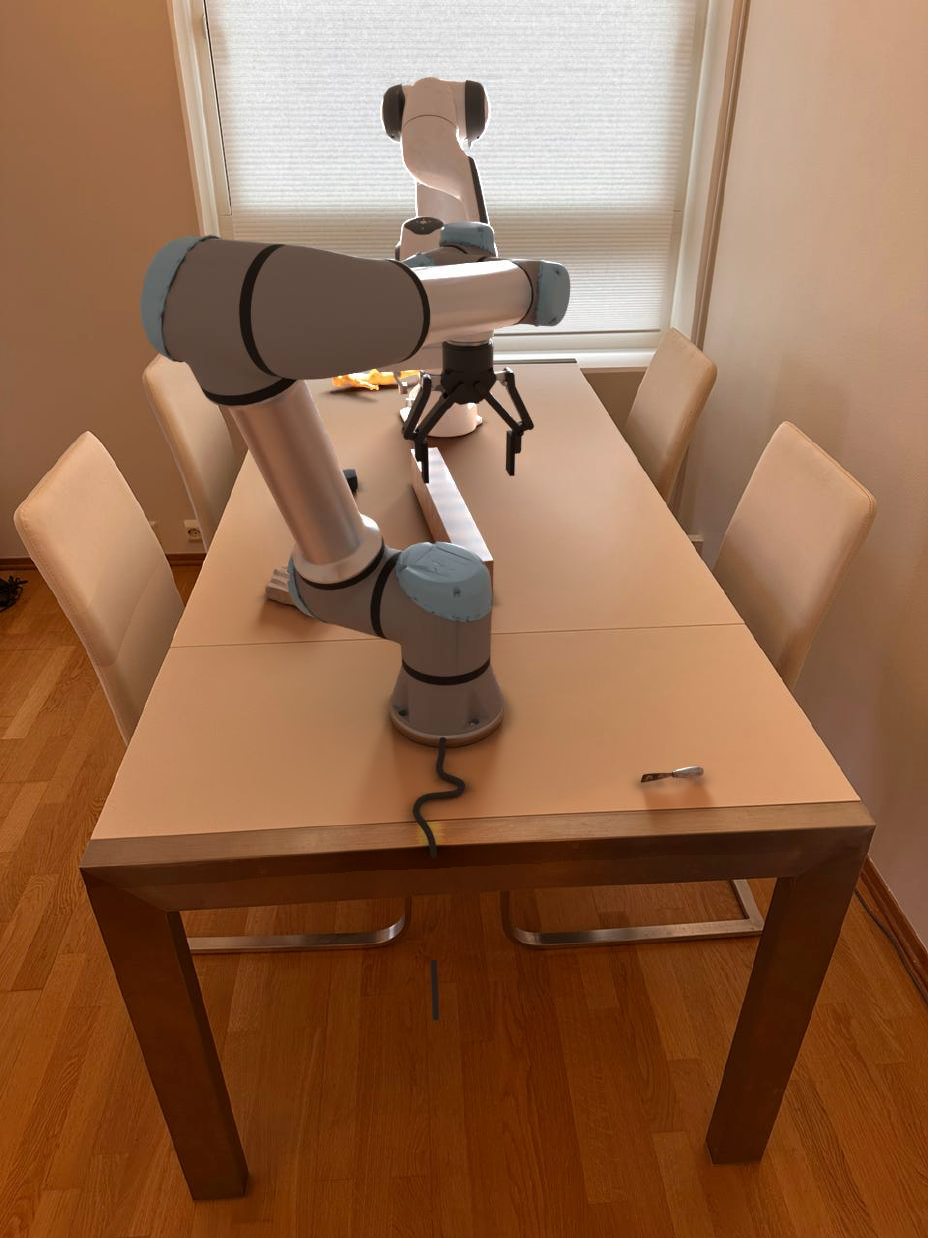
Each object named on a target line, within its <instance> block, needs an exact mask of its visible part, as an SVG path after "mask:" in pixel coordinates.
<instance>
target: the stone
mask: <svg viewBox="0 0 928 1238" xmlns="http://www.w3.org/2000/svg"><path fill="white" fill-rule="evenodd" d="M287 568H288V565H287V566H283V567H282V566H277V567H275V568H274V570H273V573H272V574H271V578H270V581H269V583H267V584H266V585H265V587H264V588H265V593H264V597H265V598H266V599H269V600H273V601H277V602H278V603H280V604H288V605H291V606H294V607H296V608H298V607H297V606H296V605H295V603H294V602H293V600H292V598H291V596H290V593H289V590H288V585H287V580H288V579H289V578H290V574H289V573H288V572H287Z"/></svg>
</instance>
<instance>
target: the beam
mask: <svg viewBox="0 0 928 1238" xmlns="http://www.w3.org/2000/svg"><path fill="white" fill-rule="evenodd" d="M428 455H429V483H428V484H424V481H423V479H422V474H421V462H417V461H416V459H415V457H414V448H413V449H410V460H411V461H410V462H411V482H412V483H411V485H412V488H413V491H414V493H415V496H416V498H417V501H418V503H419V505H420V506H419V507H420V509H421V510H422V513H423V516H424V519H425V521H426V523H427V526H428V528H429V531H430V533H431V536H432V538H433V541H434V544H435V543H436V542H445V543H451V544H455V545H458V546H461V547H464V548H466V549H468V550H470V551H472V552H473V553H475V554H476V555H477V556H479V557H480V558H481V559H482V561H483V562H484V563H485V565H486V567H487V569H488V570H489V573H490V578H491V591H492V595H493V596H494V564H495V563H494V559H493V557H492V554H491V552H490V550H489V549H488V546H487V544H486V542H485V540H484V538H483V536H482V535H481V533H480V531H479V528H478V526H477V525H476V522H475V520H474V518H473V517H472V516H473V515H472V514H471V513H470V511H469V509H468V507H467V505H466V503H465V502H466V501H464V499H463V497H462V495H461V493H460V490H459V489H458V487H457V484H456V482H455V481H454V478H453V477H452V475H451V473H450V471H449V469H448V466H447V465H446V462H445V461H444V459H443V456H442V455H441V452H440V451H439V449H438V447H428Z"/></svg>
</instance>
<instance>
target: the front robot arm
mask: <svg viewBox="0 0 928 1238" xmlns="http://www.w3.org/2000/svg"><path fill="white" fill-rule="evenodd" d="M489 225H490V224H489ZM489 225H488V224H485V223H479V222H454V223H449V224H445V225H444V226H443V227H442V229H441V231H440V241H439V248H437V249H433V250H430V251H427V252H424V253H416V254H415V255H412V257H410V258H408V259H406V260H404V261H402V262H400V261H397V260H395V259H393V258H369V257H364V256H363V257H362V256H357V255H351V254H347V253H342V252H338V251H333V250H328V249H325V248H324V249H323V248H318V247H312V246H308V245H301V244H283V243H273V242H261V241H250V240H249V241H248V240H239V239H226V238H222V237H219V236H218V235H214V234H207V235H204V236H181V237H178V238H175V239H172V240H170V241H168V242H167V243H166V244H165V245H164V244H163V246H162V247H161V248H160V249H159V250H158V251H157V252H156V253H155V254H154V256H153V257H152V259H151V261H150V263H149V264H148V266H147V268H146V271H145V273H144V276H143V280H142V282H143V283H142V284H143V287H142V292H141V293H140V295H139V314H140V320H141V324H142V328H143V331H144V334H145V337H146V339H147V340H148V342H149V344H150V345H151V347H152V348H153V349H154V350H155V351H156V352H157V353H158V354H159V355H161V356H163V357H164V358H167V359H168V360H169V361H171V362H175V363H181V364H182V363H185V364H186V365H187V366H188V367H189V368H190V371H191V373H192V375H193V376H194V379H195V380H196V382H197V384H198V386H199V387H200V389H201V391H202V393H203V395H204V396H205V398H206V399H207V400H208V401H209V402H210V403H212V404H214V405H216V406H219V407H221V408H225V409H226V408H227V409H228V411H229V413H230V415H231V417H232V419H233V421H234V423H235V424H236V426H237V429H238V430H239V432H240V434H241V436H242V438H243V440H244V442H245V444H246V446H247V448H248V450H249V452H250V454H251V456H252V458H253V461H254V462H255V464H256V466H257V468H258V471H259V472H260V474H261V476H262V478H263V480H264V482H265V484H266V486H267V488H268V490H269V491H270V494H271V496H272V497H273V500H274V502H275V503H276V506H277V508H278V510H279V511H280V514H281V516H282V518H283V520H284V521H285V524H286V526H287V527H288V530H289V531H290V533H291V536H292V537H293V539H294V542H295V543H294V545H293V548H292V551H291V553H290V556H289V558H288V563H287V566H288V568H287V572H288V573H289V574H290V578H289V579H288V580H287V585H288V590H289V593H290V596H291V598H292V600H293V602H294V603H295V605H296V606H297V607H296V606H295V605H294V606H295V607H296V608H297V609H299V611H300V612H301V613H303V614H305V616H308V617H311V618H313V619H315V620H316V621H319V622H322V623H323V624H328V625H334V626H338V627H340V628H344V629H348V630H352V631H355V632H359V633H362V634H365V635H369V636H373V637H376V638H380V639H384V640H387V641H390V642H393V643H396V644H399V645H400V655H401V667H400V669H399V672H398V675H397V678H396V681H395V684H394V687H393V690H392V693H391V695H390V700H389V706H390V718H391V721H392V724H393V725H394V727H395V728H396V729H397V731H398V732H399V733H400V734H402V735H403V736H404V737H406V738H407V739H409V740H411V741H413V742H415V743H417V744H420V745H421V744H422V745H425V746H430V747H437V748H438V755H437V759H436V762H435V771H436V773H437V775H438V776H439V778H441V779H442V780H444V781H446V782H448V783H451V784H453V785H456V786H458V787H457V788H456V789H454V790H449V791H437V792H430V793H425V794H422V795H420V796H419V797H418V798H417V799H416V800H415V802H414V804H413V807H412V815H413V817H414V819H415V821H416V823H417V824H418V825H419V827H420V828H421V829H422V831H423V833H424V835H425V837H426V839H427V843H428V849H429V857H430V858H431V859H436V858H437V857H438V850H437V843H436V838H435V835H434V832H433V830H432V828H431V827H430V826H429V824H428V822H427V821H426V820H425V819H424V817H423V816H422V814H421V810H420V809H421V807H422V806H423V804H425V803H426V802H429V801H433V800H444V799H445V800H446V799H453V798H457V797H459V796H460V797H461V795H462V794H463V793H464V792H465V790H466V783H465V781H464V780H463V779H461V778H459V777H457V776H454V775H451V774H450V773H447V772H445V770H444V769H443V768H444V761H445V758H446V748H454V747H455V748H457V747H463V746H467V745H471V744H473V743H476V742H480V741H481V740H483V739H485V738H486V737H488V736H489V735H491V734H492V733H493V732H494V731H495V730H496V729H498V727H499V726H500V724H501V722H502V720H503V717H504V702H505V701H504V696H503V695H504V694H503V693H502V690H501V687H500V685H499V682H498V679H497V677H496V674H495V672H494V668H493V666H492V664H491V654H492V653H491V651H492V649H491V648H492V647H491V645H492V611H493V610H492V608H493V604H494V594H493V595H492V591H491V578H490V573H489V570H488V569H487V567H486V565H485V563H484V562H483V561H482V559H481V558H480V557H479V556H477V555H476V554H475V553H473V552H472V551H470V550H468V549H466V548H464V547H461V546H458V545H455V544H451V543H445V542H436V543H435V542H434V543H431V542H429V541H424V542H418V543H415V544H413V545H410V546H408V547H406V548H405V549H403V550H401V549H396V548H392V547H390V546H388V545H387V544H386V542H385V540H384V537H383V535H382V533H381V530H380V528H379V526H378V524H377V523H376V522H375V521H374V520H373V519H372V518H370V517H369V516H367V515H365V514H362V513H361V512H360V510H359V508H358V505H357V503H356V500H355V497H354V495H353V493H352V490H350V488H349V485H348V483H347V480H346V478H345V475H344V473H343V470H344V469H343V468H342V466H341V463H340V461H339V459H338V456H337V454H336V451H335V449H334V446H333V443H332V441H331V438H330V436H329V433H328V431H327V428H326V427H325V424H324V422H323V419H322V417H321V414H320V412H319V409H318V406H317V404H316V401H315V399H314V396H313V395H312V392H311V389H310V386H309V385H308V381H311V380H313V381H314V380H325V379H332V378H333V377H340V376H345V375H351V374H356V373H360V374H361V373H364V372H368V371H369V372H370V371H372V370H373V369H377V368H381V367H386V366H389V365H393V364H397V363H401V362H404V361H406V360H408V359H410V358H412V357H413V356H415V355H416V354H417V353H418V352H419V351H420V350H421V348H422V347H423V346H426V345H430V344H435V343H439V342H442V373H441V375H440V376H429V375H428V374H427V373H423V374H422V375H421V383H420V389H419V391H418V394H417V396H416V398H415V400H414V403H413V405H412V407H411V409H410V411H409V414H408V416H407V418H406V420H405V422H404V421H403V424H402V427H401V429H400V433H401V435H402V437H403V439H404V440H405V441H412V442H413V449H414V457H415V459H416V461H417V462H421V474H422V479H423V481H424V484H428V483H429V455H428V448H429V442H428V439H427V437H428V436H429V435H428V434H429V433H430V431H431V430H432V429H433V428H434V426H435V425H436V424H437V423H438V421H439V420H440V419H441V417H442V416H443V415H444V414H445V412H446V411H447V410H448V409H450V408H451V407H452V405H453V404H454V403H457V404H459V405H465V404H468V403H472V404H476V405H478V404H480V403H481V402H483V401H484V400H485V401H486V402H487V404H488V405H489V406H490V407H491V408H492V410H494V412H496V413H497V415H498V416H499V417H500V418H501V419H502V420H503V421H504V422H505V424H506V425H507V426H508V427H509V428H510V430H509V429H508V430H505V431H506V437H505V438H506V439H505V440H506V441H505V471H506V473H507V475H508V476H509V477H515V474H516V473H515V472H516V471H515V469H516V466H515V465H516V455H519V454H521V453H522V440H523V439H522V438H523V436H524V434H525V432H527V431H532V430H534V428H535V424H534V422H533V420H532V418H531V416H530V413H529V411H528V409H527V407H526V405H525V403H524V400H522V397H521V394H520V393H519V391H518V389H517V386H516V377H515V373H514V372H513V370H511V368H509V367H504V368H503V370H499V371H495V370H494V352H495V351H494V347H495V346H494V342H493V340H492V339H493V337H494V336H495V330H498V329H499V330H500V329H504V328H507V327H508V328H509V327H513V326H518V325H530V326H534V327H536V328H538V327H555V326H557V325H559V324H560V323H561V322H563V319H564V318H565V316H566V313H567V311H568V307H569V303H570V296H571V278H570V273H569V272H568V269H567V268H566V266H564V265H563V264H562V263H559V262H553V261H546V260H545V259H540V260H534V259H523V258H511V257H500V256H498V257H495V256H496V252H495V246H496V243H495V231H494V228H493V227H492V226H491V225H490V226H489ZM497 381H498V382H499V384H500V385H501V386H502V387H505V390H506V392H507V394H508V396H509V397H510V400H511V402H512V404H513V406H514V408H515V410H516V412H517V414H518V417H519V418H520V421H517V420H516V419H515V418H514V417H513V416H512V415H511V413H509V412H508V410H507V409H506V408H505V407H504V405H502V403H500V401H499V400H498V399H497V398H496V397H495V396H494V394H493V393H492V392H491V390H492V388H493V387H494V385H496V383H497ZM437 385H441V386H442V387H443V389H444V390H445V391H444V392H443V393H442V394H441V396H440V397H439V400H438V401H437V403H436V404H435V405H434V406H433V408H432V409H431V410H430V411H429V413H428V414H427V415H426V417H425V418H424V419H423V420H422V422H421V423H420V424H419V426H418V427H417V428H416V426H417V424H418V421H419V419H420V417H421V415H422V413H423V410H424V408H425V406H426V404H427V402H428V400H429V397H430V394H431V391H434V390H435V388H436V386H437ZM415 428H416V429H415ZM429 961H430V984H431V985H430V986H431V1010H432V1011H431V1012H432V1020H433V1021H434V1022H435V1021H437V1022H438V1021H439V1019H440V1003H439V973H438V972H439V970H438V960H437V959H431V958H430V960H429Z"/></svg>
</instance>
